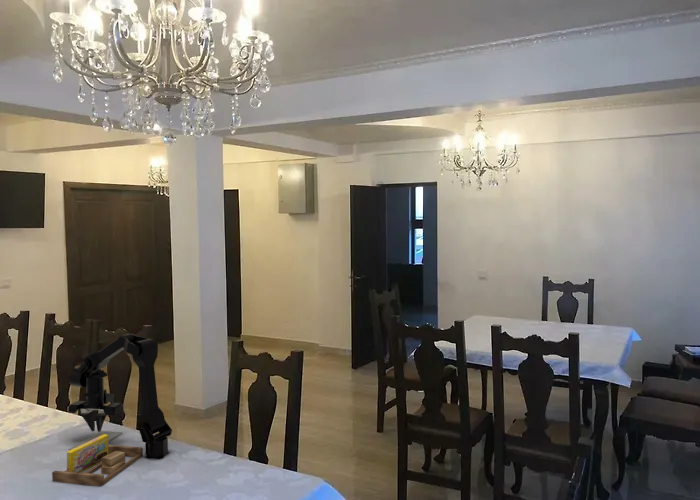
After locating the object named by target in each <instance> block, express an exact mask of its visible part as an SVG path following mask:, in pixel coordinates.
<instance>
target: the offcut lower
mask: <svg viewBox="0 0 700 500" xmlns="http://www.w3.org/2000/svg"><path fill="white" fill-rule="evenodd" d="M125 463H126V459H125V460H124V461H122V462H120V463H118V464H116V465H114V466H112V467H107V466H102V467H101V468H100V471H101V473H100V474H103V475H110V474H111V473H112V472H114V471H115V470H117V469H118V468H119V467H121V466H122V465H124V464H125Z"/></svg>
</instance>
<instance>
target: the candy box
mask: <svg viewBox="0 0 700 500" xmlns="http://www.w3.org/2000/svg"><path fill="white" fill-rule="evenodd" d="M108 445H109V442H108V435H106V434H103V435H101V436H99V437H97V438H95V439H93V440H91V441H89V442H87V443H85V444H82V445H80V446H78V447H76V448H74V449H72V450H67V451H66V470H67V472H78V473H84V472H86V471H88V469H89V470H90V469H92V468H93V467H95V466H96V465H98V464H99V463H101V462H102V457H104V456H106V455H108Z"/></svg>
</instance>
